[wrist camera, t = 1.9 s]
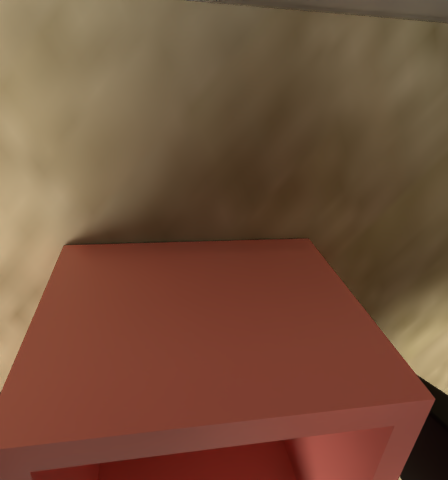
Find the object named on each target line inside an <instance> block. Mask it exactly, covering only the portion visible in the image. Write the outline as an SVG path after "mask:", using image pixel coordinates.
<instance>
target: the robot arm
mask: <svg viewBox="0 0 448 480" xmlns="http://www.w3.org/2000/svg"><path fill="white" fill-rule="evenodd" d="M417 376H418V375H417ZM418 378H419V379H420V380H421V381H422V383H423V384H424V385H425V386H426V388H427V389H428V390H429V391H430V393H431V394H432V395H433V396H434V398H435V401H434V403H433V405H432V408H431V410H430V412H429V414H428V416H427V418H426V421H425V423H424V425H423V427H422V429H421V431H420V433H419V436H418V438H417V440H416V442H415V444H414V446H413V448H412V451H411V453H410V455H409V457H408V459H407V461H406V463H405V466H404V468H403V470H402V472H401V474H400V477H401V479H402V480H448V395H447V394H445V393H444V392H442V391H441V390H439V389H438V388H436V387H435V386H433V385H432V384H430V383H429V382H427V381H425V380H424V379H422V378H421V377H419V376H418ZM0 394H1V392H0Z"/></svg>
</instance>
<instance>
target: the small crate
mask: <svg viewBox="0 0 448 480" xmlns="http://www.w3.org/2000/svg"><path fill="white" fill-rule="evenodd" d="M434 401H435V398H434V396H433V395H432V394H431V393H430V391H429V390H428V389H427V388H426V386H425V385H424V384H423V383H422V381H421V380H420V379H419V378H418V376H417V375H416V374H415V372H414V371H413V370H412V369H411V367H410V366H409V365H408V364H407V362H406V361H405V360H404V359H403V357H402V356H401V355H400V353H399V352H398V351H397V350H396V348H395V347H394V346H393V345H392V343H391V342H390V341H389V340H388V338H387V337H386V336H385V335H384V333H383V332H382V331H381V329H380V328H379V327H378V326H377V324H376V323H375V322H374V321H373V319H372V318H371V317H370V316H369V314H368V313H367V312H366V310H365V309H364V308H363V307H362V305H361V304H360V303H359V302H358V300H357V299H356V298H355V297H354V295H353V294H352V293H351V292H350V290H349V289H348V288H347V286H346V285H345V284H344V283H343V281H342V280H341V279H340V278H339V276H338V275H337V274H336V273H335V271H334V270H333V269H332V267H331V266H330V265H329V264H328V262H327V261H326V260H325V259H324V257H323V256H322V255H321V254H320V252H319V251H318V250H317V249H316V247H315V246H314V245H313V243H312V242H311V241H310V240H309V238H305V239H268V240H232V241H196V242H160V243H124V244H88V245H64V246H63V249H62V251H61V253H60V256H59V258H58V260H57V263H56V265H55V267H54V270H53V272H52V274H51V277H50V279H49V281H48V284H47V286H46V288H45V291H44V293H43V295H42V298H41V300H40V302H39V305H38V307H37V309H36V312H35V314H34V316H33V319H32V321H31V323H30V326H29V328H28V330H27V333H26V335H25V337H24V340H23V342H22V344H21V347H20V349H19V351H18V354H17V356H16V358H15V361H14V363H13V365H12V368H11V370H10V373H9V375H8V377H7V380H6V382H5V384H4V387H3V389H2V391H1V394H0V480H398V479H399V476H400V474H401V472H402V470H403V468H404V466H405V463H406V461H407V459H408V457H409V455H410V453H411V451H412V448H413V446H414V444H415V442H416V440H417V438H418V436H419V433H420V431H421V429H422V427H423V425H424V423H425V421H426V418H427V416H428V414H429V412H430V410H431V408H432V405H433V403H434Z"/></svg>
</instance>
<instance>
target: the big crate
mask: <svg viewBox="0 0 448 480" xmlns="http://www.w3.org/2000/svg"><path fill="white" fill-rule="evenodd" d="M186 1H198V2H210V3H221V4H233V5H245V6H256V7H268V8H280V9H291V10H303V11H315V12H326V13H338V14H350V15H361V16H373V17H384V18H396V19H408V20H419V21H431V22H443V23H448V0H186Z"/></svg>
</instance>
